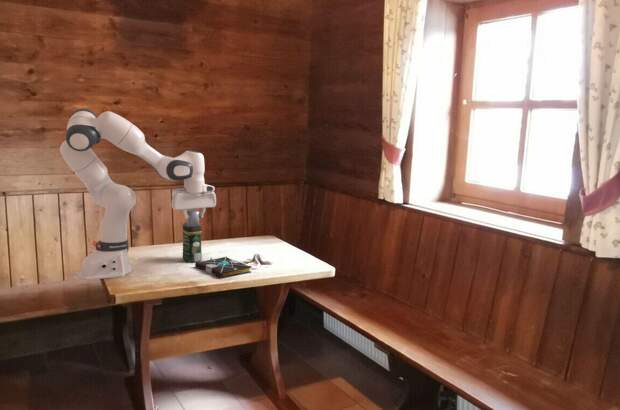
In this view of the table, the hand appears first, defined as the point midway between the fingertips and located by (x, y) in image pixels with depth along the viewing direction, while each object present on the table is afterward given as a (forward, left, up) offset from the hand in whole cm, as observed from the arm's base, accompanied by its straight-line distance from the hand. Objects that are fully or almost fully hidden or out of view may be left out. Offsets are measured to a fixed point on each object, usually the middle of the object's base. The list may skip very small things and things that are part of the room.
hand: (194, 218), depth 231 cm
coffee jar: (+7, +16, -24) cm, 30 cm away
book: (+12, -6, -25) cm, 28 cm away
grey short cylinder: (0, +1, -3) cm, 3 cm away
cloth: (+32, -6, -25) cm, 41 cm away
